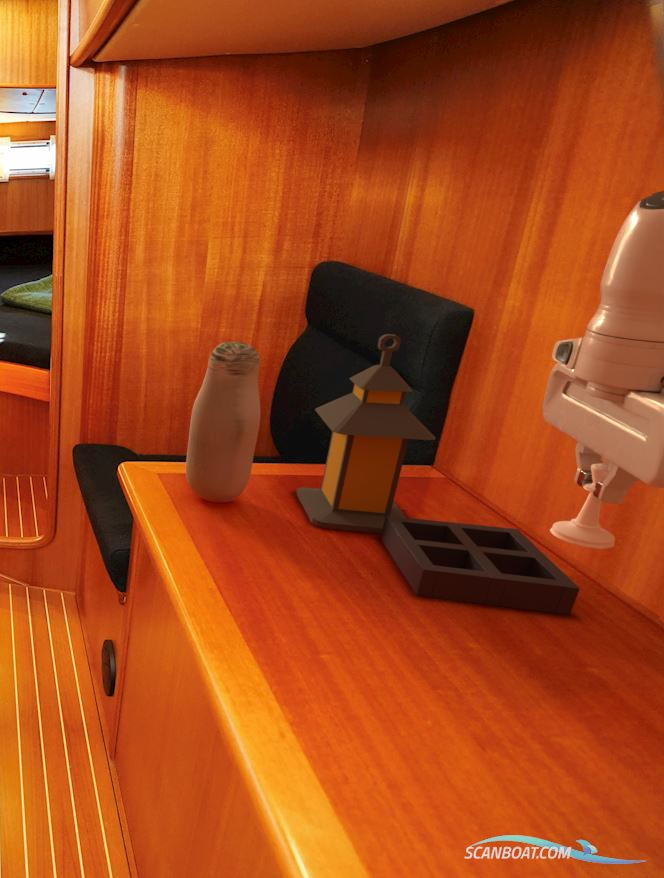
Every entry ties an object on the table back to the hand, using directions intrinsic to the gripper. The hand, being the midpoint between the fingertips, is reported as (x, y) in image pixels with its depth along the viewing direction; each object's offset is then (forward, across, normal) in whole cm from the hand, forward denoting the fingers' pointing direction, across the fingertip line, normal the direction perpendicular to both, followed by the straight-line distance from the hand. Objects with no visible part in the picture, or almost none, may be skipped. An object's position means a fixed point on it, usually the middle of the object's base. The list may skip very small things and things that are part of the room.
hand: (596, 493), depth 72 cm
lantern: (+22, +38, +10) cm, 45 cm away
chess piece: (+5, 0, 0) cm, 5 cm away
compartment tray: (+22, +21, 0) cm, 30 cm away
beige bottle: (+22, +38, +31) cm, 53 cm away
